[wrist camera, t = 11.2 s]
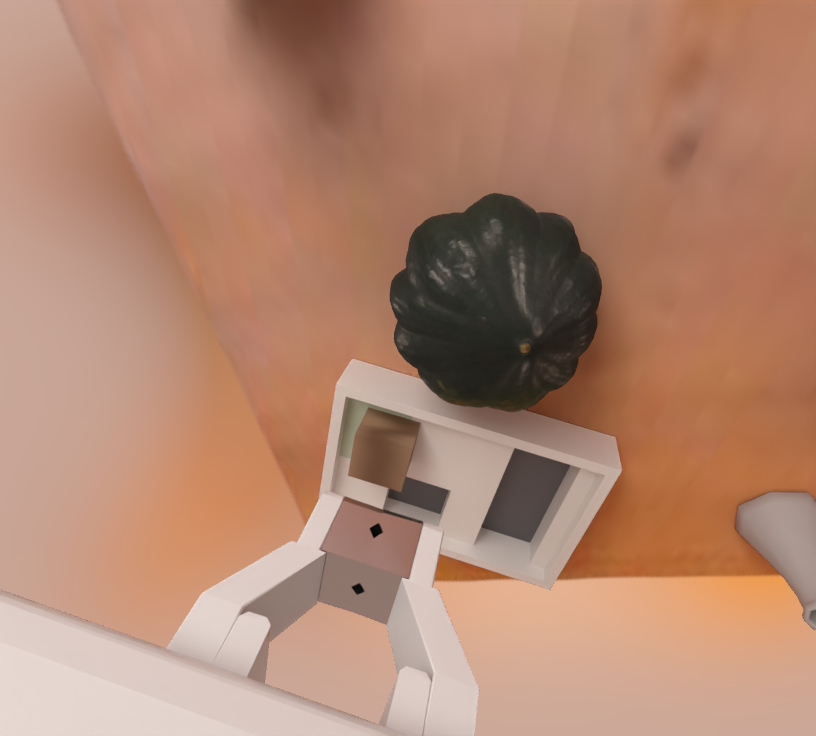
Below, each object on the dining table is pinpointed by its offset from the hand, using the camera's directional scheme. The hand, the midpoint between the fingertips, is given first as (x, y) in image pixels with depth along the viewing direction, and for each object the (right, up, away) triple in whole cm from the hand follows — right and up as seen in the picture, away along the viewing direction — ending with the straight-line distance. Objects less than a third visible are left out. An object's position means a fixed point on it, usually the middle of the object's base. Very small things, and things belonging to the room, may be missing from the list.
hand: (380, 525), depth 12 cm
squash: (+8, +11, +29) cm, 32 cm away
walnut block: (-1, -3, +35) cm, 36 cm away
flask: (+35, -10, +34) cm, 50 cm away
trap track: (+6, -6, +39) cm, 40 cm away
